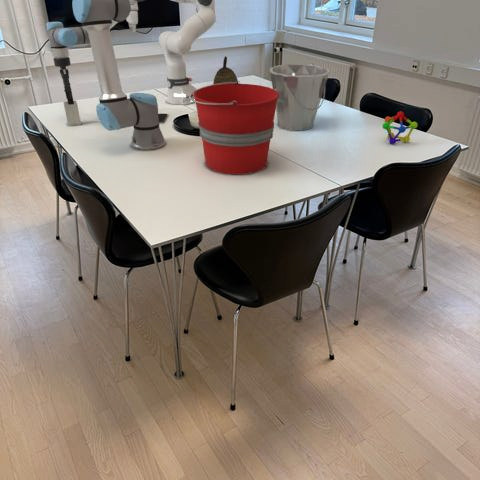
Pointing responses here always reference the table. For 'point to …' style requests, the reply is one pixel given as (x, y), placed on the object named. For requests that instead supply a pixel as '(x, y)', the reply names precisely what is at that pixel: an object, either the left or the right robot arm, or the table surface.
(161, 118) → the smartphone
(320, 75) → the bucket
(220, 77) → the bell
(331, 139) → the table surface
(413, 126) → the educational toy
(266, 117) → the bucket
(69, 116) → the brick
